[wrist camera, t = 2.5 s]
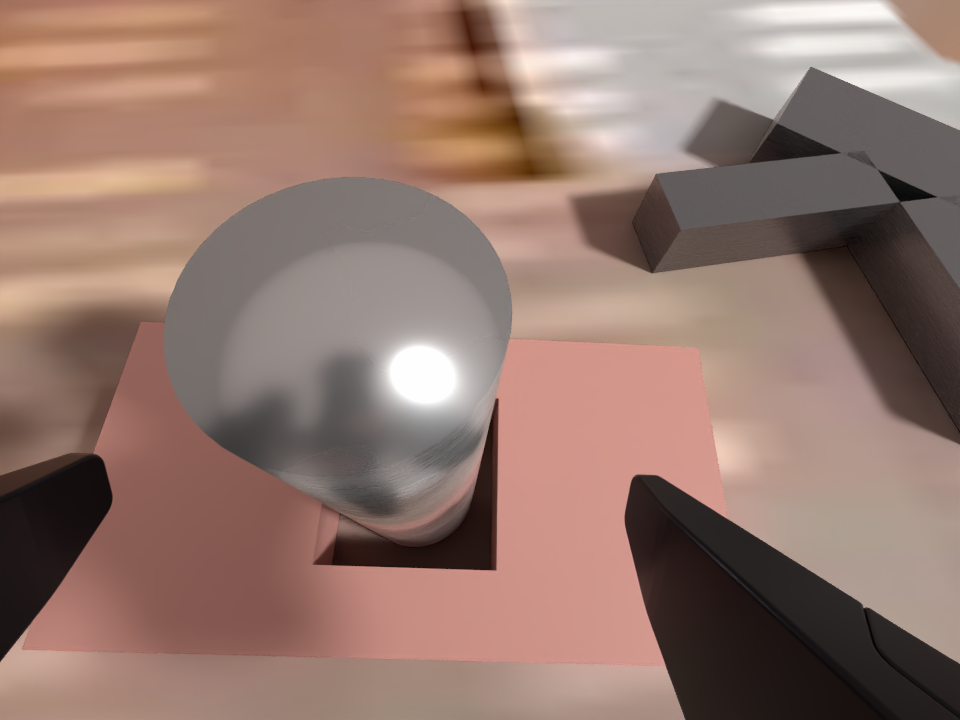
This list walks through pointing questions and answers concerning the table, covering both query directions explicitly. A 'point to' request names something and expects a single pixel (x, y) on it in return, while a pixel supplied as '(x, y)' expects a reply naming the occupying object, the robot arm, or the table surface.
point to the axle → (348, 348)
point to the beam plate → (390, 590)
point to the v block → (835, 210)
